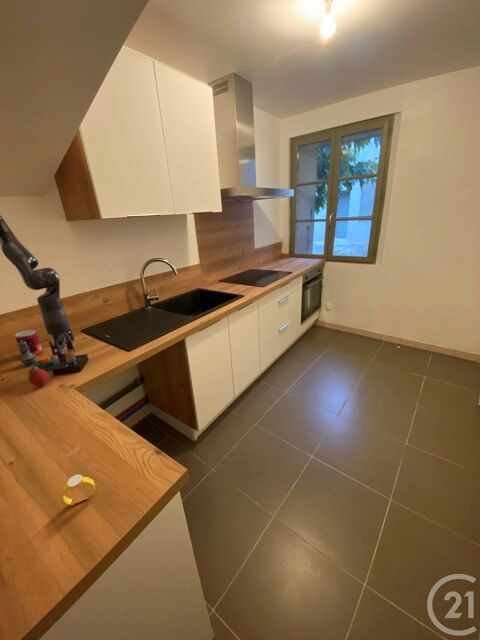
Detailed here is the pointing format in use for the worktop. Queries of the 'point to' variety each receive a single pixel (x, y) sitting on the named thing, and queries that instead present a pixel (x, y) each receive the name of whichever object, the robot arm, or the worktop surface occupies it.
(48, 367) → the ignition block
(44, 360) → the ignition button
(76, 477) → the watch
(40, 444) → the worktop surface
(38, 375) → the red round piece
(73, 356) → the hob knob
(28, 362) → the grey chess piece
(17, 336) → the canned food
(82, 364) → the black square tray
